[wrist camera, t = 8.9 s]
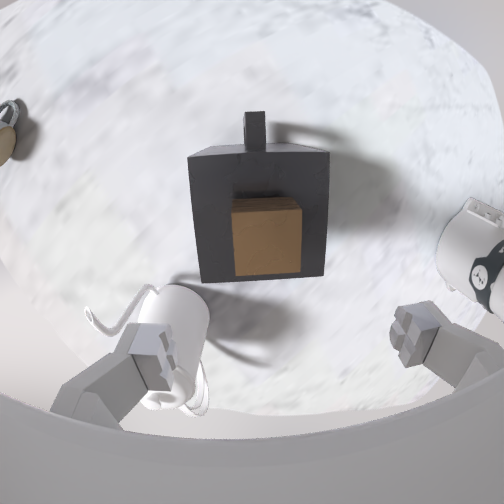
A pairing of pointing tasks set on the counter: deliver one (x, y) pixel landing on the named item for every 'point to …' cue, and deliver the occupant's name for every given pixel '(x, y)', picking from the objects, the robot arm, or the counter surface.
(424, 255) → the counter surface
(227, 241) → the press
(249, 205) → the plunger
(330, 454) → the robot arm
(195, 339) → the coffeepot
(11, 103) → the ceramic mug
